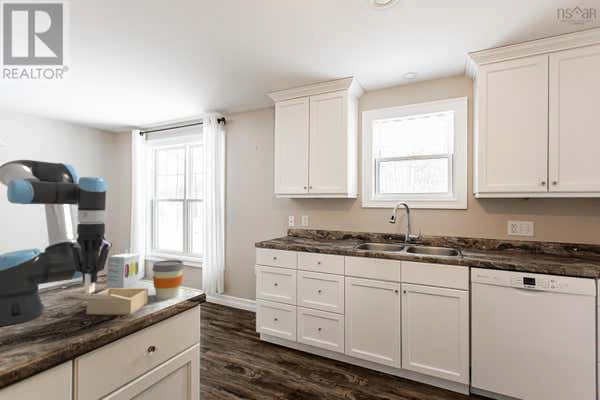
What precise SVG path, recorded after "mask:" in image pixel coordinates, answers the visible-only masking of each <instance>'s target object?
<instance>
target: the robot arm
mask: <svg viewBox="0 0 600 400" xmlns="http://www.w3.org/2000/svg"><path fill="white" fill-rule="evenodd" d="M0 183H1V184H2V185H4V186H5V187H7V190H6V191H7V192H6V193H7V194H6V195H7V196H6V197H7V201H8V202H9V203H10V204H19V205H44V211H45V212H44V213H45V219H46V220H45V221H46V229H47V236H48V245H47V246H46V247H45V248H44V251H43V252H42V251H41V250H40V249H39V248H30V249H22V250H15V251H11V252H5V253H1V254H0V327H5V326H11V325H17V324H21V323H25V322H29V321H31V320H34V319H36V318H39V317H41V316H42V315H43V314H44V313H45V305H44V304H43V303H42V299H41V296H40V293H39V285H44V284H49V283H58V282H62V281H69V280H70V281H72V280H73V279H74V280H75V279H80V278H82V283H83V284H84V291H83V294H93V293H94V292H96V291H95V290H96V283H97V282H98V273H99V272H101V271H104V270H105V266H106V262H107V260H108V255H109V251H110V249H111V248H112V246H113V243H112V242H108V241H106V238H105V233H106V224H105V223H104V222H106V202H107V201H106V198H107V182H106V180H105V178H102V177H93V176H91V177H90V176H81V177H80V178H79V179H78V173H77V170H76V168H75V167H74V166H72V165H71V164H66V163H63V162H58V163H56V162H47V161H41V160H40V161H39V160H31V159H18V160H17V159H16V160H11V161H8V162H5V163H3V164H1V165H0ZM73 205H76V206H77V219H76V220H77V222H78V224H77V226H75V225H76V224H75V220H74V213H73ZM76 227H77V228H76Z"/></svg>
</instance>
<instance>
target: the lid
mask: <svg viewBox="0 0 600 400" xmlns="http://www.w3.org/2000/svg"><path fill="white" fill-rule="evenodd" d="M59 294H60V295H59V296H65V297H70V298H76V299H80V300H87V299H95V300H131V298H127V297H123V296H118V295H114V294H97V293H90V294H84V293H73V292H72V293H70V292H69V293H68V292H67V293H66V292H60V293H59Z"/></svg>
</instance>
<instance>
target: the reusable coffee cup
mask: <svg viewBox="0 0 600 400" xmlns="http://www.w3.org/2000/svg"><path fill="white" fill-rule="evenodd" d="M152 264H153V265H152V272H153V275H152V282H153V287H154V291H155V298H156V299H157V300H163V301H164V300H165V301H168V300H171V299H176V298H177V297H179V292H180V288H181V287H180V286H181V285H182V280H183V270H184V261H183V260H179V259H178V260H177V259H167V260H160V261H156V262H154V263H152Z"/></svg>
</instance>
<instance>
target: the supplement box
mask: <svg viewBox="0 0 600 400" xmlns="http://www.w3.org/2000/svg"><path fill="white" fill-rule="evenodd" d="M106 269H107V270H106V271H107V274H106V288H105V290H106V289H108V288H132V289H139V279H140V278H139V277H140V253H127V252H126V253H124V252H123V253H121V254H115V255H109V256H108V255H107V268H106Z"/></svg>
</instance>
